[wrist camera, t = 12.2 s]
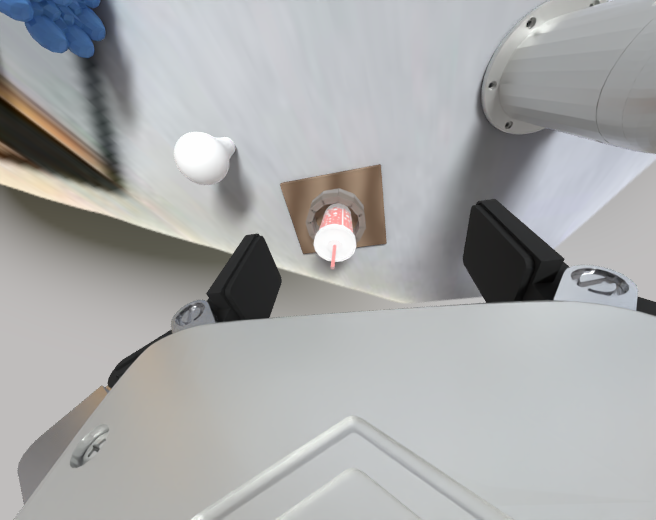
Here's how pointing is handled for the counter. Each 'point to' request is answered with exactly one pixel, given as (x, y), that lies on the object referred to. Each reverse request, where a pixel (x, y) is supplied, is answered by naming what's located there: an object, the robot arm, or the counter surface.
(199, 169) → the lightbulb
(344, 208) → the beverage cup
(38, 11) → the grapes
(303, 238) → the coaster board
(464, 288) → the counter surface
